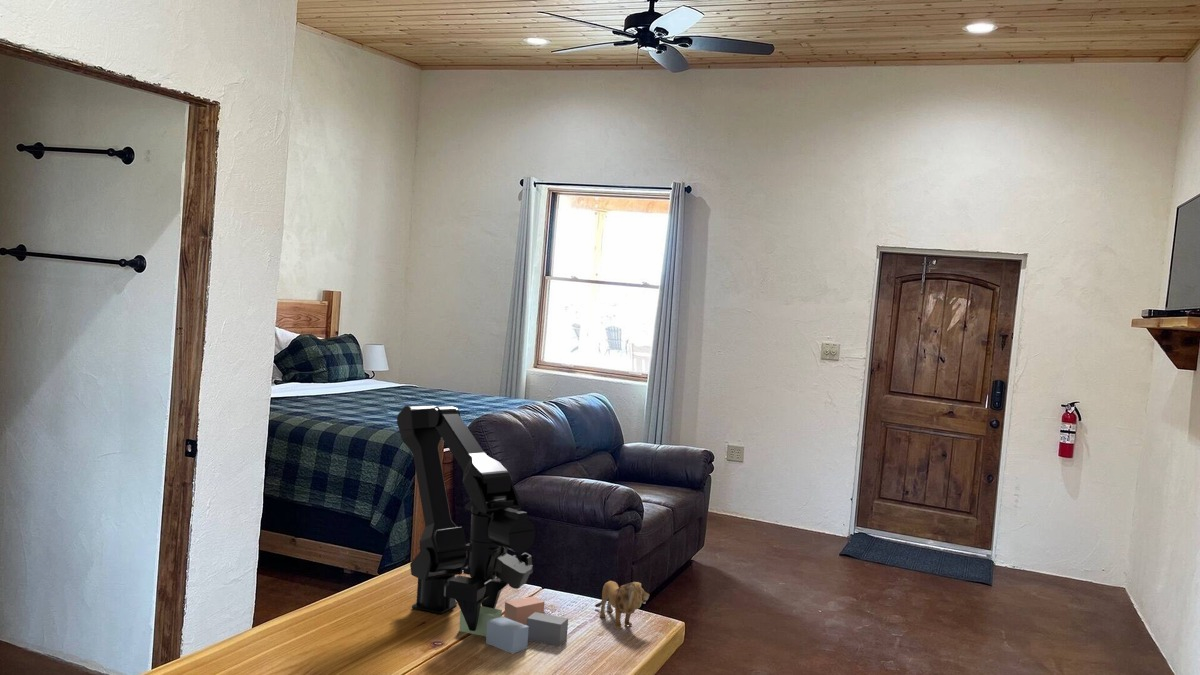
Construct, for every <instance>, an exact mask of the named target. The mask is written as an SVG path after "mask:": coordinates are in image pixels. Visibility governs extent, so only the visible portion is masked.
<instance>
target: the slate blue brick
mask: <svg viewBox="0 0 1200 675" xmlns="http://www.w3.org/2000/svg"><path fill="white" fill-rule="evenodd" d="M528 629H529V626H527V625H524V624H521V623H518V622H516V621H513V620H510V619H508V618H505V617H504V616H501V617H498V618H495V619H492V620H489V621H487V634H486V636H485V644H487V645H490V646H492V647H495V648H497V649H500V650H502V651H505V652H507V653H510V654H512V655H513V654H516V653H519V652H522V651H523V650H527V649H528V643H529V642H528V641H529V640H528Z"/></svg>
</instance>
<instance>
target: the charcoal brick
mask: <svg viewBox="0 0 1200 675" xmlns="http://www.w3.org/2000/svg"><path fill="white" fill-rule="evenodd" d="M527 626H529V629H528V641H530V642H535V643H541V644H545V645H550V646H556V647H561V646H562V645H563V644H564V643H565V642H566V641H567V640H568V628H569V627H568V626H569V617H565V616H564V617H563V616H557V615H553V614H548V613H544V614H543V613H537V612H534V613H533V614H532V615H530V616H529V617H528V618H527Z"/></svg>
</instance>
